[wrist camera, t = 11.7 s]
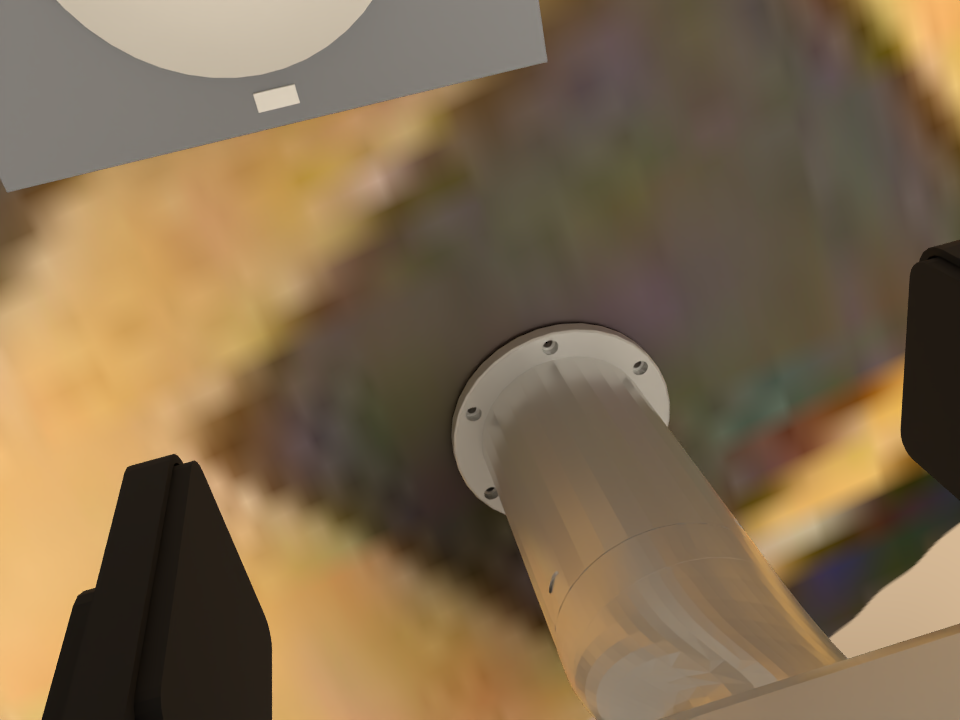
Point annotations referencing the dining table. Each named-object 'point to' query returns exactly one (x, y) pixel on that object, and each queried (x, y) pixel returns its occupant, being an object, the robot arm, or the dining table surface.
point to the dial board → (227, 82)
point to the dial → (218, 31)
